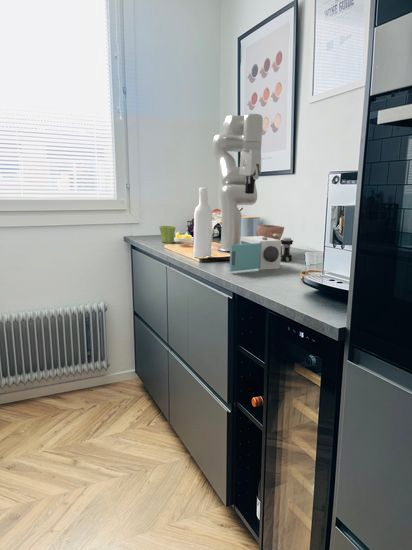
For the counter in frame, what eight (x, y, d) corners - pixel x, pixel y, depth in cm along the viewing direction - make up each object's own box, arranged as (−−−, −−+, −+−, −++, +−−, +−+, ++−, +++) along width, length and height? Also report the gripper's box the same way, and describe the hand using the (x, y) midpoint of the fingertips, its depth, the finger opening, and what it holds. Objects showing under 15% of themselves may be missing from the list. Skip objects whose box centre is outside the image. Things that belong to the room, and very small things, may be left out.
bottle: (196, 258, 177) (198, 187, 171) (190, 255, 184) (191, 187, 178) (214, 258, 180) (215, 188, 174) (207, 255, 187) (208, 187, 181)
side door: (231, 271, 149) (232, 245, 147) (229, 271, 150) (230, 244, 148) (261, 268, 156) (262, 243, 154) (259, 267, 157) (260, 242, 155)
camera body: (239, 263, 169) (240, 234, 167) (260, 262, 173) (261, 234, 171) (260, 270, 155) (261, 239, 153) (282, 269, 160) (283, 238, 157)
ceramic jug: (290, 260, 179) (292, 227, 176) (258, 260, 177) (260, 227, 174) (277, 254, 197) (279, 224, 194) (247, 254, 194) (249, 223, 191)
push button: (281, 262, 173) (282, 239, 170) (274, 260, 177) (275, 237, 175) (294, 262, 175) (295, 238, 173) (287, 259, 180) (288, 237, 178)
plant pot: (156, 241, 228) (156, 225, 226) (172, 240, 232) (172, 225, 230) (162, 243, 219) (162, 227, 218) (178, 243, 223) (178, 227, 221)
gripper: (234, 147, 170) (232, 192, 174) (253, 145, 157) (250, 194, 161) (250, 148, 173) (248, 192, 177) (270, 146, 160) (267, 194, 164)
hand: (249, 193), depth 169 cm, fingers closed
